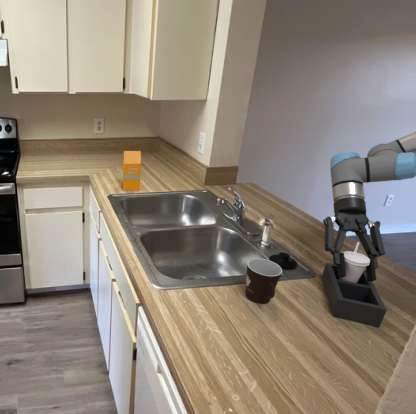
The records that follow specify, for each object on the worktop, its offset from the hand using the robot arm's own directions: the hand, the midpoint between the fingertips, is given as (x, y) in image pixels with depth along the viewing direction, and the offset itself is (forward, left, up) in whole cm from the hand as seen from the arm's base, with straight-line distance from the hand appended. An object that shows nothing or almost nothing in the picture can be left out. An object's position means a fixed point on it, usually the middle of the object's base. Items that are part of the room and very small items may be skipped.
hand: (356, 278), depth 90 cm
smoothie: (+1, -4, -5) cm, 6 cm away
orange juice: (+86, -62, -7) cm, 106 cm away
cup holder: (+1, +1, -7) cm, 7 cm away
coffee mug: (+24, +11, -7) cm, 27 cm away
